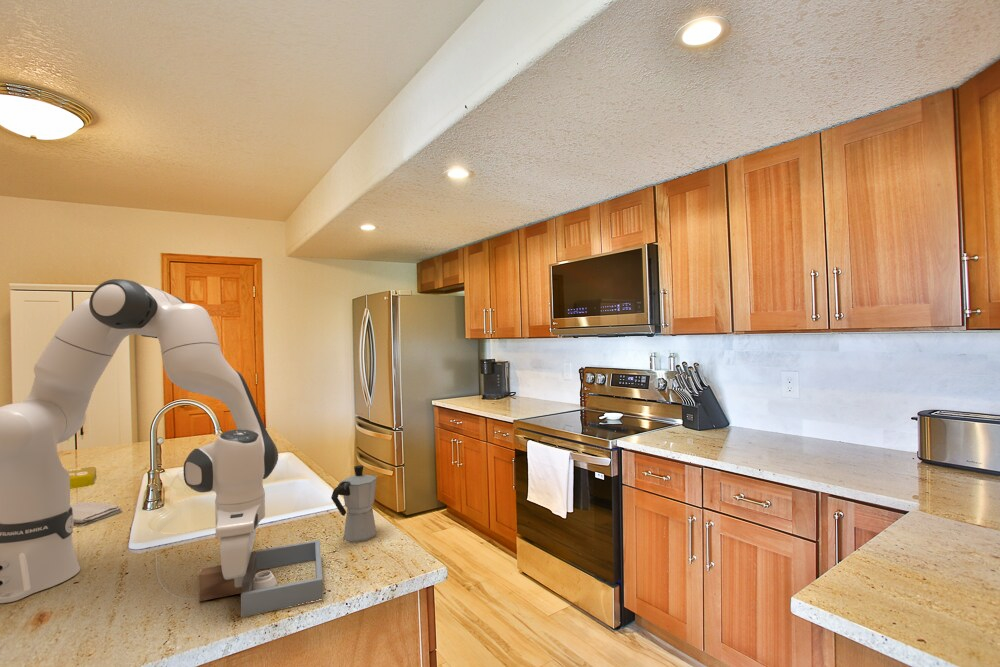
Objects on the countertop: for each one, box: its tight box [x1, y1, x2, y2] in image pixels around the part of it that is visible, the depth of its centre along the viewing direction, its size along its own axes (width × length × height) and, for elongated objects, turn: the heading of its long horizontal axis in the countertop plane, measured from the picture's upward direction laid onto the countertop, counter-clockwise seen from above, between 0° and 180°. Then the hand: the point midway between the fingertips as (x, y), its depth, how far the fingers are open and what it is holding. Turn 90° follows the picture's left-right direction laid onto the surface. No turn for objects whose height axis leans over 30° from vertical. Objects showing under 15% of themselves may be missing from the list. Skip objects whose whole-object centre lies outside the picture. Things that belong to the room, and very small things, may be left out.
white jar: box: [252, 570, 278, 591], centre depth 97 cm, size 5×3×5 cm
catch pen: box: [240, 539, 324, 618], centre depth 99 cm, size 14×20×4 cm
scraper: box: [198, 550, 258, 602], centre depth 95 cm, size 9×14×5 cm, turn 22°
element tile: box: [66, 466, 97, 490], centre depth 173 cm, size 15×15×5 cm
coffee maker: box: [330, 464, 378, 544], centre depth 122 cm, size 15×9×18 cm, turn 149°
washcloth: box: [70, 501, 123, 527], centre depth 140 cm, size 12×18×3 cm, turn 80°
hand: (241, 580), depth 96 cm, fingers closed on scraper, 3 cm apart
